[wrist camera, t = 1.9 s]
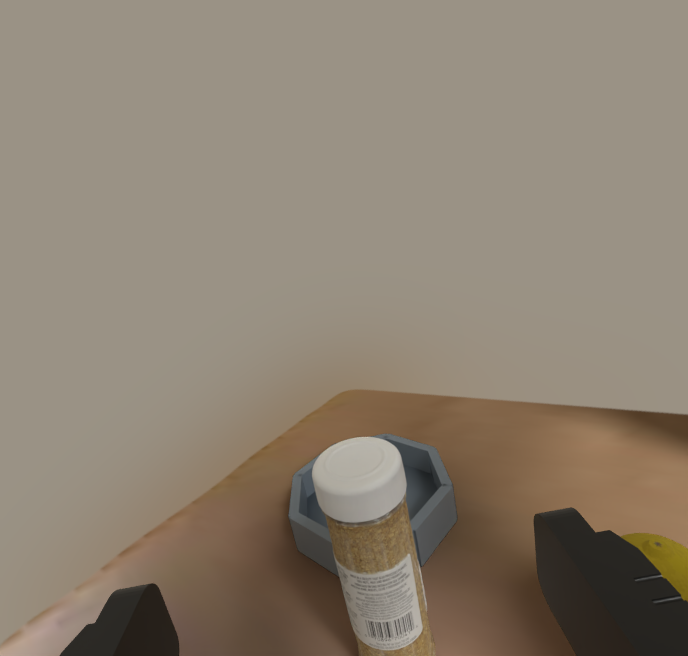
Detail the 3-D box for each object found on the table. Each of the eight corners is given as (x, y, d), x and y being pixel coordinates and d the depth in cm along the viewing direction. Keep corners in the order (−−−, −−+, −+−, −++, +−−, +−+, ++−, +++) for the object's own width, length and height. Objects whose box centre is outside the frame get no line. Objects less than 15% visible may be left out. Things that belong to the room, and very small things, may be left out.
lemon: (568, 638, 24) (563, 523, 22) (648, 601, 25) (651, 488, 23) (662, 754, 19) (668, 618, 16) (758, 701, 20) (776, 567, 17)
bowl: (430, 453, 42) (425, 425, 42) (474, 557, 30) (469, 521, 29) (302, 478, 43) (295, 451, 42) (294, 592, 30) (283, 556, 29)
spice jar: (437, 620, 26) (405, 431, 22) (434, 704, 22) (394, 489, 18) (366, 614, 28) (324, 434, 24) (350, 692, 23) (297, 489, 20)
